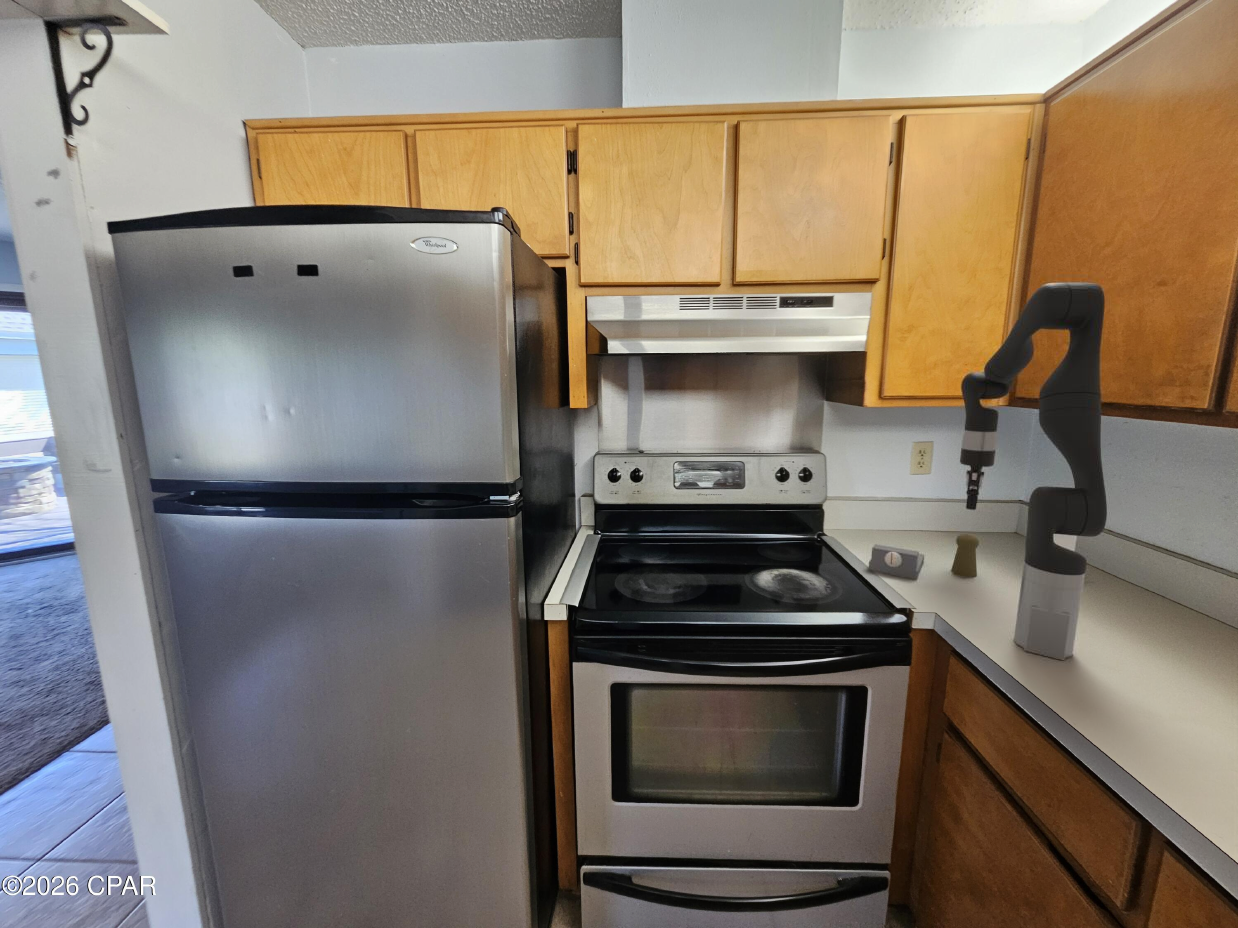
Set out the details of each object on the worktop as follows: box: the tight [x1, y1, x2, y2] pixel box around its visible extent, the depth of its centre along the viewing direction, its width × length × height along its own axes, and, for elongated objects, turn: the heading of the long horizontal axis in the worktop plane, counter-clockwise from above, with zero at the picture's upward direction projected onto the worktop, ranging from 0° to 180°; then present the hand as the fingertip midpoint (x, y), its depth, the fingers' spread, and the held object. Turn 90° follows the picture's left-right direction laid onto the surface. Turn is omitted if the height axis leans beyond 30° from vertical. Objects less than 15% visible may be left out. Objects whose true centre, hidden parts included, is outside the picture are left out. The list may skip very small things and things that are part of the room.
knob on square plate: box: [868, 543, 925, 581], centre depth 145 cm, size 16×12×7 cm
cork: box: [950, 533, 980, 578], centre depth 139 cm, size 6×6×11 cm
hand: (971, 505), depth 137 cm, fingers open, 8 cm apart
